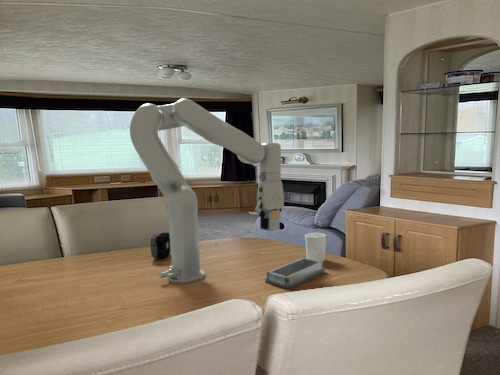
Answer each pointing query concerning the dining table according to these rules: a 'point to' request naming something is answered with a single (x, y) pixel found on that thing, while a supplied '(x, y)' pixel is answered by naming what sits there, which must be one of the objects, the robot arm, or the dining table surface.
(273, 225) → the block
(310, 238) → the white cup
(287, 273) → the rail
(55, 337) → the dining table surface
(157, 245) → the cpu cooler
